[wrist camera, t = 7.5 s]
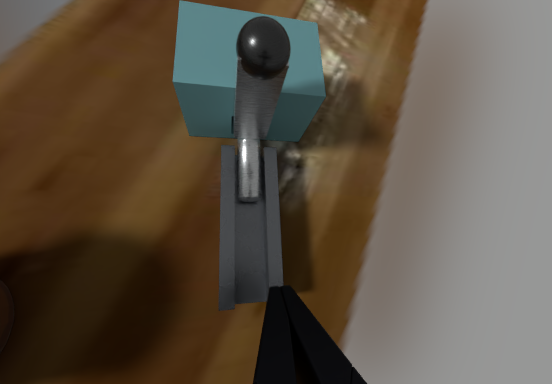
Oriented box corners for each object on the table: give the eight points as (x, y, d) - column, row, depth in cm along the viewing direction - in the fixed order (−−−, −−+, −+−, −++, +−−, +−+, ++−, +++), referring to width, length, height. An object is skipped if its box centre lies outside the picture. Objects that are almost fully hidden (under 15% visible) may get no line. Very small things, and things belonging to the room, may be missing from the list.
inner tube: (265, 201, 23) (307, 138, 11) (231, 201, 22) (237, 134, 10) (261, 97, 26) (290, -43, 14) (232, 94, 25) (236, -55, 13)
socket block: (298, 141, 27) (325, 96, 19) (189, 135, 25) (172, 81, 17) (293, 83, 29) (317, 22, 22) (193, 73, 27) (179, 0, 19)
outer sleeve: (276, 298, 22) (284, 304, 19) (219, 303, 21) (218, 310, 18) (270, 160, 26) (276, 147, 23) (222, 158, 25) (221, 145, 22)
